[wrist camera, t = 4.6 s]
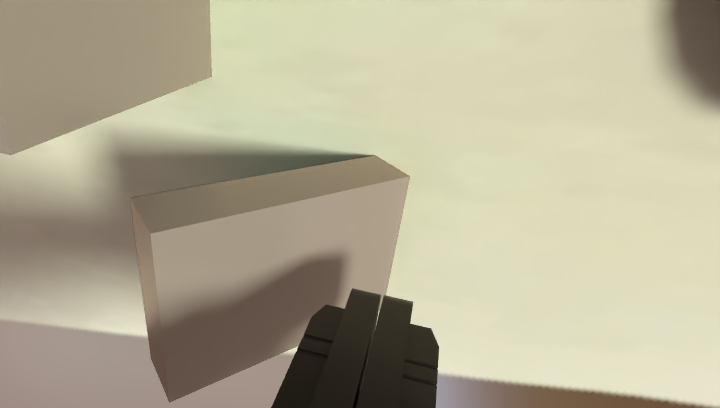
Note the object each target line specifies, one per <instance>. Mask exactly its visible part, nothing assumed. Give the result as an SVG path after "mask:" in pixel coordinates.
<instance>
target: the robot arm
mask: <svg viewBox="0 0 720 408" xmlns="http://www.w3.org/2000/svg"><path fill="white" fill-rule="evenodd" d="M380 300H381V295H380V294H376V293H371V292H367V291H363V290H358V289H354V288H352V290H351V292H350V295H349V298H348V301H347V303H346V306H345V309H344V308H340V307H335V306H331V305H327V304H326V305H325V306H324V307H323V308H321V309H320V310H319V311H318V312H317V313H315V314H314V315H313V316H312V317H311V319H310V321H309V324H308V326H307V328H306V330H305V333H304V336H303V337H302V339H301V342H300V344H299V346H298V349H297V352H296V353H295V355H294V358H293V360H292V362H291V364H290V367H289V369H288V371H287V373H286V376H285V378H284V381H283V383H282V385H281V387H280V389H279V392H278V394H277V396H276V399H275V401H274V403H273V405H272V407H271V408H435V406H436V389H437V386H436V384H437V373H438V370H437V368H438V356H439V346H438V344H437V341H436V339H435V337H434V334H433V332H432V330H431V329H430V328H426V327H422V326H418V325H413V324H410V320H411V313H412V307H413V302H412V301H407V300H403V299H398V298H394V297H390V296H385V295H384V296H383V300H382V304H381V308H380V312H379V316H378V311H379V306H380ZM377 317H378V321H377ZM376 322H377V325H376ZM375 328H376V329H375Z"/></svg>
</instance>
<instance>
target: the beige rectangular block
mask: <svg viewBox="0 0 720 408" xmlns="http://www.w3.org/2000/svg"><path fill="white" fill-rule="evenodd" d="M409 179H410V176H409V175H407V174H405V173H404V172H402V171H400V170H399V169H397V168H395V167H394V166H392V165H390V164H389V163H387V162H385V161H384V160H382V159H380V158H379V157H377V156H369V157H363V158H357V159H352V160H346V161H340V162H334V163H328V164H323V165H317V166H311V167H305V168H300V169H294V170H288V171H282V172H276V173H271V174H265V175H259V176H253V177H247V178H242V179H236V180H230V181H224V182H218V183H213V184H207V185H201V186H195V187H190V188H184V189H178V190H172V191H166V192H161V193H155V194H149V195H143V196H137V197H132V198H130V204H131V212H132V219H133V227H134V235H135V242H136V250H137V257H138V265H139V272H140V280H141V287H142V295H143V302H144V310H145V317H146V325H147V332H148V340H149V347H150V355H151V360H152V362H153V365H154V367H155V369H156V372H157V374H158V377H159V379H160V381H161V384H162V386H163V388H164V391H165V393H166V396H167V398H168V401H169V402H172V401H174V400H176V399H179V398H181V397H183V396H185V395H188V394H190V393H192V392H195V391H197V390H199V389H201V388H204V387H206V386H208V385H210V384H213V383H215V382H217V381H219V380H222V379H224V378H226V377H228V376H231V375H233V374H235V373H238V372H240V371H242V370H245V369H246V368H249V367H251V366H254V365H256V364H258V363H260V362H263V361H265V360H267V359H269V358H272V357H274V356H276V355H279V354H281V353H283V352H285V351H288V350H290V349H292V348H295V347H297V346H299V344H300V342H301V339H302V337H303V336H304V333H305V330H306V328H307V326H308V324H309V321H310V319H311V317H312V316H313V315H314V314H315V313H317V312H318V311H319V310H320V309H321V308H323V307H324V306H325V305H326V304H327V305H331V306H335V307H340V308H344V309H345V306H346V303H347V301H348V298H349V295H350V292H351V290H352V288H354V289H358V290H363V291H367V292H371V293H376V294H380V295H381V300H380V306H379V310H380V308H381V304H382V300H383V296H384V295H385V296H386V292H387V287H388V282H389V277H390V272H391V267H392V262H393V257H394V252H395V247H396V242H397V238H398V233H399V228H400V223H401V218H402V213H403V208H404V203H405V198H406V193H407V188H408V183H409Z"/></svg>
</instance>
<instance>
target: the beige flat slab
mask: <svg viewBox="0 0 720 408" xmlns="http://www.w3.org/2000/svg"><path fill="white" fill-rule="evenodd" d="M209 77H212V69H211V34H210V0H0V153H4V154H8V155H12V154H15V153H17V152H20V151H23V150H25V149H28V148H30V147H33V146H35V145H38V144H40V143H43V142H46V141H48V140H51V139H53V138H56V137H58V136H61V135H63V134H66V133H69V132H71V131H74V130H76V129H79V128H81V127H84V126H86V125H89V124H92V123H94V122H97V121H99V120H102V119H104V118H107V117H109V116H112V115H115V114H117V113H120V112H122V111H125V110H127V109H130V108H133V107H135V106H138V105H140V104H143V103H145V102H148V101H150V100H153V99H156V98H158V97H161V96H163V95H166V94H168V93H171V92H173V91H176V90H179V89H181V88H184V87H186V86H189V85H191V84H194V83H196V82H199V81H202V80H204V79H207V78H209Z"/></svg>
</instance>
